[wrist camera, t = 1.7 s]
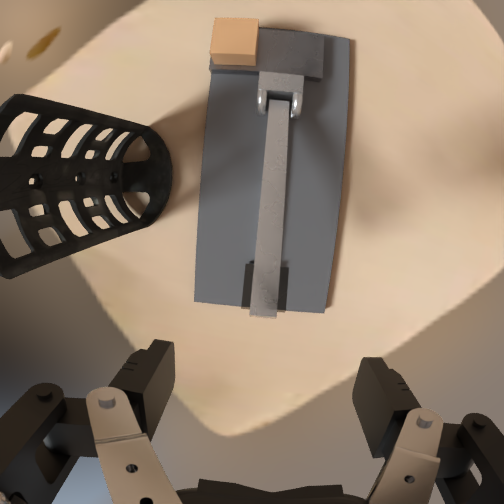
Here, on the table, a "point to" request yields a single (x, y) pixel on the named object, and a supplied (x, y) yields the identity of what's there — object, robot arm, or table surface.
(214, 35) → the tab
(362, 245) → the table surface
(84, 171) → the holder
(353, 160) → the table surface
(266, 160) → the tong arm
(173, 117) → the table surface
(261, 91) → the base
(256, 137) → the tray
